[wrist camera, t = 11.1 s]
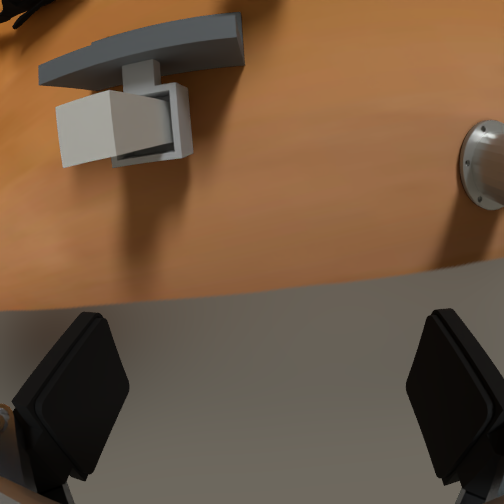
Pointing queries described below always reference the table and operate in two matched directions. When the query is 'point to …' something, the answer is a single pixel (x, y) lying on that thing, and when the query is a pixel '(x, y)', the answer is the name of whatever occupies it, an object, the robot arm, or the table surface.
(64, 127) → the rail
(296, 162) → the table surface
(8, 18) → the headset
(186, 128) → the bracket
